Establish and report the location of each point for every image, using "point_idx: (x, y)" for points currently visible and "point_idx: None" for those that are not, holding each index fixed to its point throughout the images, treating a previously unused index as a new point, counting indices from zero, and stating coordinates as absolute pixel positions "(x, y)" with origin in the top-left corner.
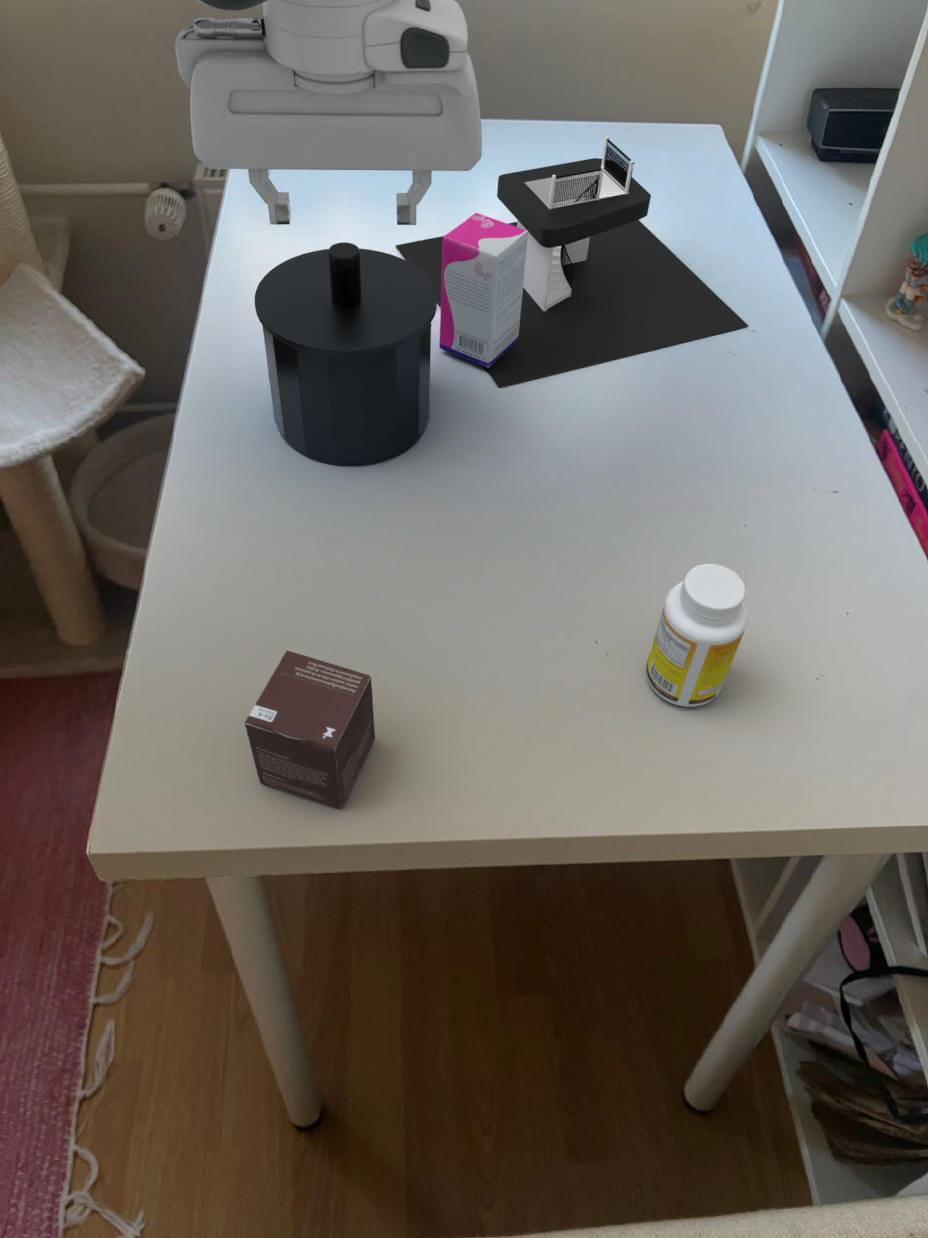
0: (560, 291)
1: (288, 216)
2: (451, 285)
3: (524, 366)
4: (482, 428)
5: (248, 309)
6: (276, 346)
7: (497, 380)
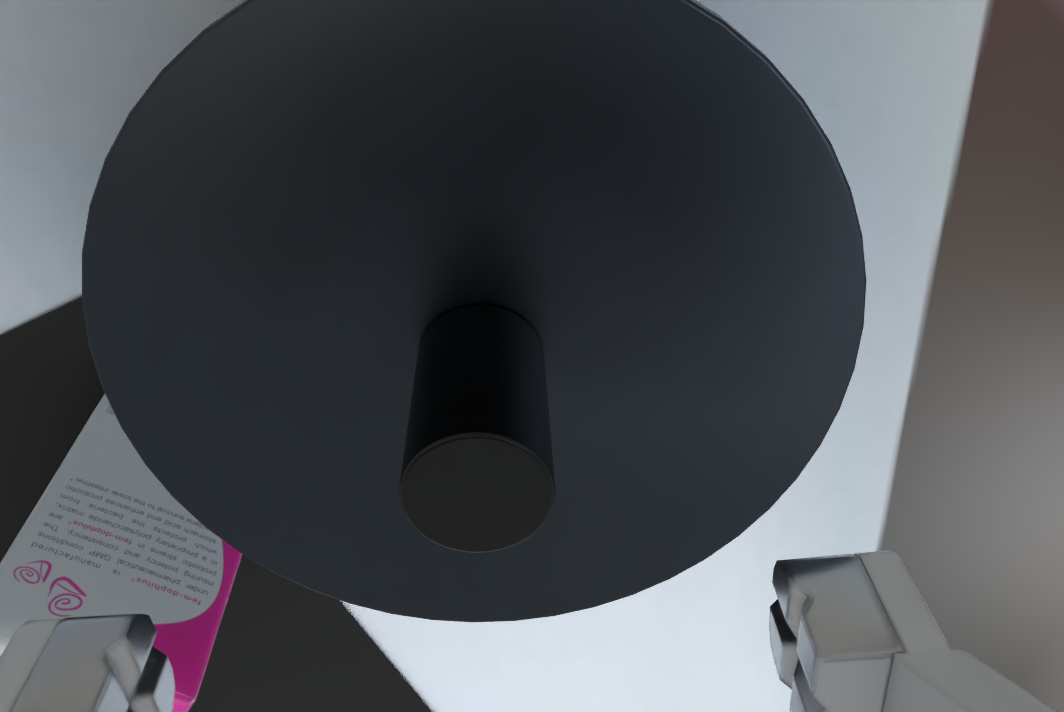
0: None
1: (794, 597)
2: (197, 559)
3: (38, 381)
4: (88, 116)
5: (789, 524)
6: None
7: None
